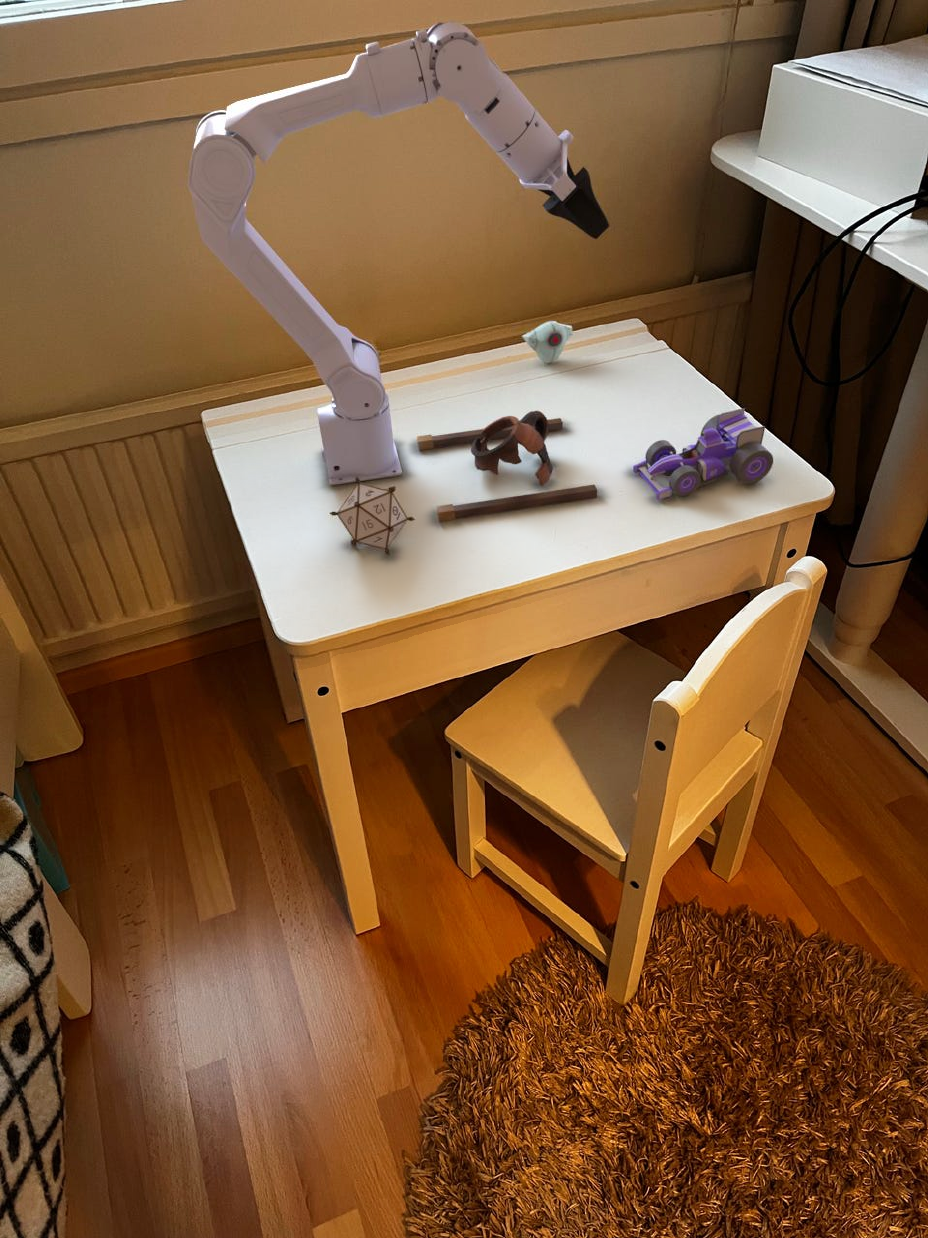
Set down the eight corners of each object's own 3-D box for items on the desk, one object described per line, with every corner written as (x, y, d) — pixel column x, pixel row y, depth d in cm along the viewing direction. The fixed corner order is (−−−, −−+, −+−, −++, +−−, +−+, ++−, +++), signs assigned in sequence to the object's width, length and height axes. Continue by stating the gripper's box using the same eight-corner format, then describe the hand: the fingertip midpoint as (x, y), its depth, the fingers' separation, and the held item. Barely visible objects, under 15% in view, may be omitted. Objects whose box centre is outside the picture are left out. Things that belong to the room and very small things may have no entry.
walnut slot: (439, 522, 112) (438, 512, 111) (417, 445, 124) (416, 436, 123) (597, 497, 114) (597, 488, 113) (560, 424, 126) (560, 415, 125)
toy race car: (627, 466, 118) (631, 422, 114) (729, 441, 121) (737, 398, 117) (662, 507, 112) (668, 462, 107) (769, 480, 115) (780, 435, 110)
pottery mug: (539, 503, 114) (505, 455, 109) (486, 508, 121) (451, 463, 116) (579, 436, 119) (548, 388, 114) (525, 444, 126) (494, 399, 121)
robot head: (568, 352, 141) (569, 310, 137) (579, 364, 138) (581, 322, 134) (520, 362, 140) (520, 320, 135) (530, 374, 137) (530, 332, 132)
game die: (366, 561, 112) (334, 485, 111) (429, 537, 111) (397, 459, 109) (346, 575, 104) (311, 493, 102) (414, 549, 102) (379, 465, 100)
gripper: (560, 115, 89) (639, 213, 97) (526, 82, 100) (600, 173, 108) (508, 172, 92) (589, 263, 100) (480, 134, 103) (556, 219, 110)
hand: (592, 220), depth 104 cm, fingers open, 7 cm apart
